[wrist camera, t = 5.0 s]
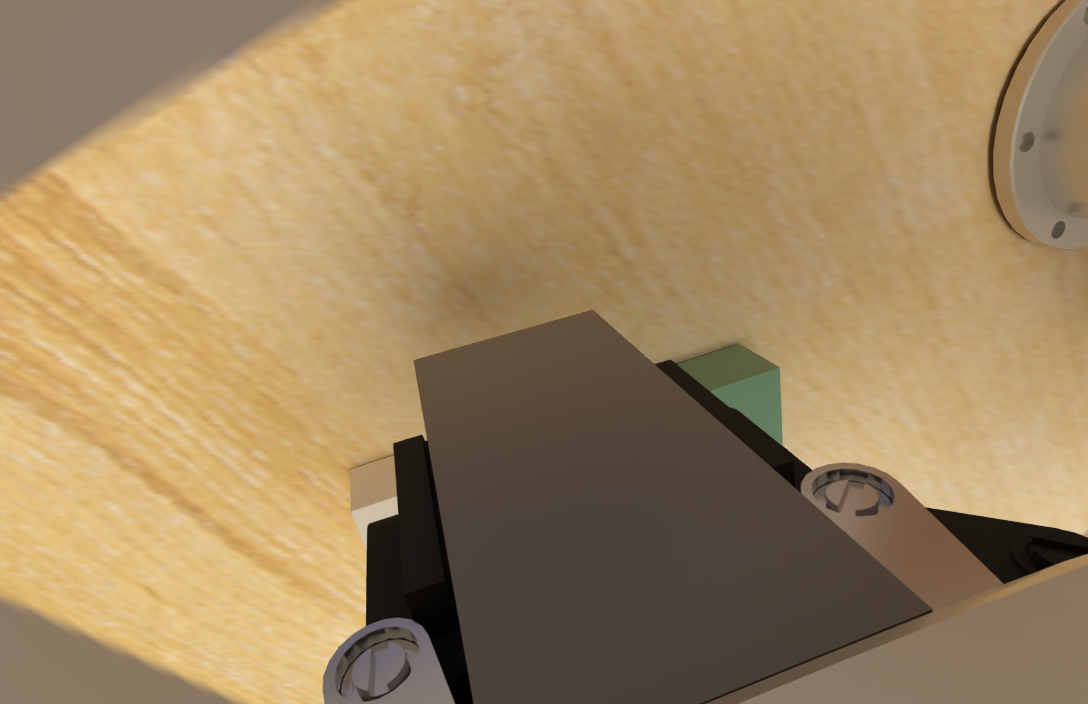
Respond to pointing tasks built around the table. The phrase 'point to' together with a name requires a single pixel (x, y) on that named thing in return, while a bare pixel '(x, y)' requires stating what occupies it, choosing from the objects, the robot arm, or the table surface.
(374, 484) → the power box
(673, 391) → the grey square peg
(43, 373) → the table surface
